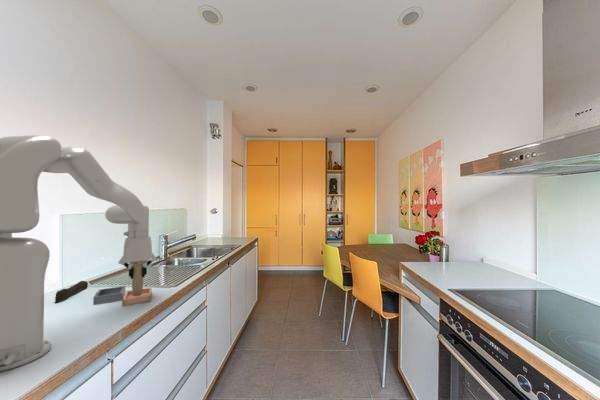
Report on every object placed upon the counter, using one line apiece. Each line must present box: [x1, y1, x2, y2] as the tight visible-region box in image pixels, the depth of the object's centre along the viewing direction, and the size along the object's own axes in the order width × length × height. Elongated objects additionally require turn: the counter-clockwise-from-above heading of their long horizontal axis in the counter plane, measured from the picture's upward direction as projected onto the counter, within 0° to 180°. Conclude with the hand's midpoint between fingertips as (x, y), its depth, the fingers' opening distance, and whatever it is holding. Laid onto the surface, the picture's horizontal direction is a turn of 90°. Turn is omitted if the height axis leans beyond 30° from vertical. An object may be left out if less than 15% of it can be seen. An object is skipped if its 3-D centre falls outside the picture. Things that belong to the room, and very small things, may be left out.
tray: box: [121, 287, 153, 307], centre depth 105 cm, size 12×10×2 cm
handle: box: [131, 261, 146, 296], centre depth 105 cm, size 5×6×15 cm
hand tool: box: [54, 280, 89, 304], centre depth 110 cm, size 19×4×5 cm, turn 12°
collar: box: [92, 285, 126, 306], centre depth 106 cm, size 10×10×3 cm
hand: (137, 276), depth 105 cm, fingers closed on handle, 3 cm apart
